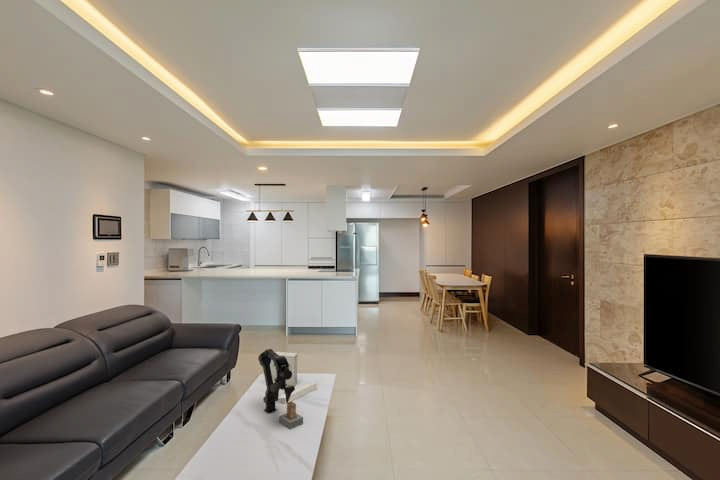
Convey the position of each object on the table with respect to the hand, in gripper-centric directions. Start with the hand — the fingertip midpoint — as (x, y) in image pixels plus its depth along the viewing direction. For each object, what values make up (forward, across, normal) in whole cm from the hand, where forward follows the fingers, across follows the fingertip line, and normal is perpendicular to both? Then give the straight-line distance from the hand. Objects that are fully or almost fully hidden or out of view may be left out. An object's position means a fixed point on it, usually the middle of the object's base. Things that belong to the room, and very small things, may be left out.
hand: (281, 401), depth 228 cm
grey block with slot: (+13, +6, +1) cm, 14 cm away
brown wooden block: (+13, +6, +1) cm, 14 cm away
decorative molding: (+9, -20, +36) cm, 42 cm away
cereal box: (+6, -43, +44) cm, 62 cm away
